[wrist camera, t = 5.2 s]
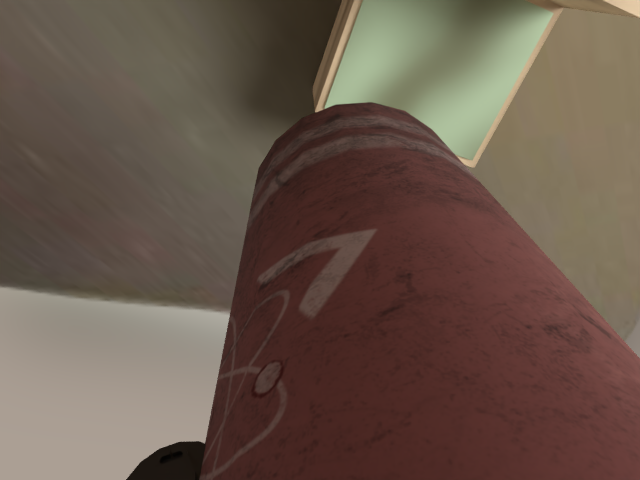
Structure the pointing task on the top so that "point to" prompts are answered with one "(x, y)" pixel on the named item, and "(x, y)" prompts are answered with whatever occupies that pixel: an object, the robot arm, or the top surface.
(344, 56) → the stand
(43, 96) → the top surface
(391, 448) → the can
